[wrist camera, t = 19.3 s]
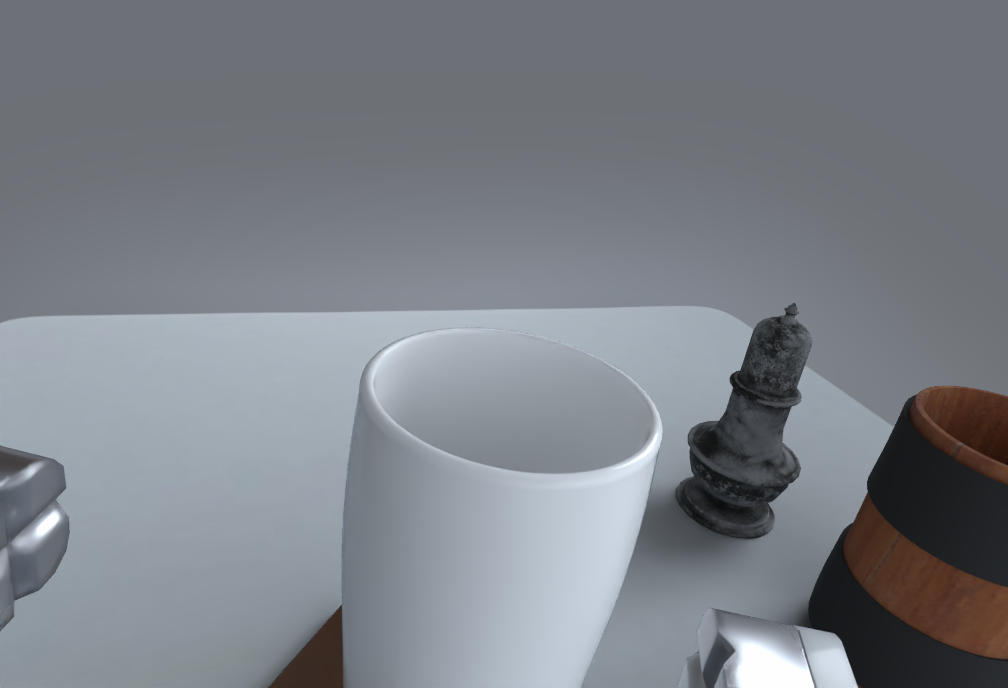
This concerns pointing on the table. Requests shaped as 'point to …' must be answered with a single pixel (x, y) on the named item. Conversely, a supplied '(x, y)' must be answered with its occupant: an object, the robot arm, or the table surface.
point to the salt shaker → (749, 435)
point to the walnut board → (317, 660)
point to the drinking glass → (489, 510)
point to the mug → (927, 551)
